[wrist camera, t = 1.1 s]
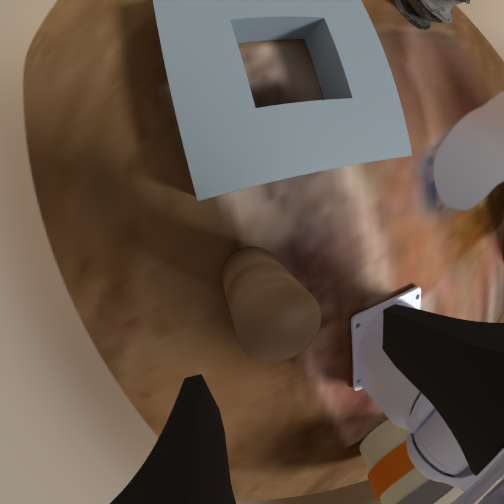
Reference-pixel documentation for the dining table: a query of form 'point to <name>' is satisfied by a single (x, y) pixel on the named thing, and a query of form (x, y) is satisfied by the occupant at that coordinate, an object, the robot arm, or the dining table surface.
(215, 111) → the socket block
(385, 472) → the reusable coffee cup
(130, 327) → the dining table surface
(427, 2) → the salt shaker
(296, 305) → the walnut peg
